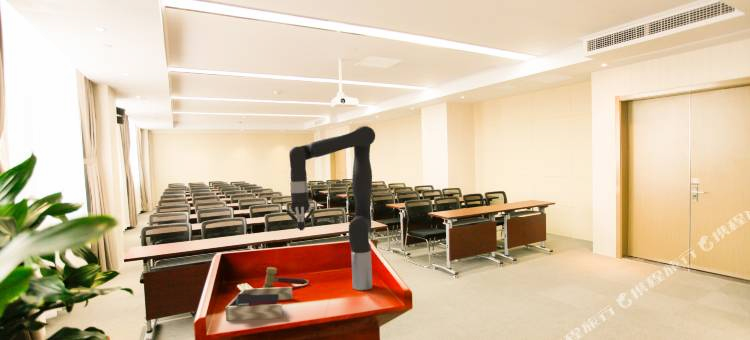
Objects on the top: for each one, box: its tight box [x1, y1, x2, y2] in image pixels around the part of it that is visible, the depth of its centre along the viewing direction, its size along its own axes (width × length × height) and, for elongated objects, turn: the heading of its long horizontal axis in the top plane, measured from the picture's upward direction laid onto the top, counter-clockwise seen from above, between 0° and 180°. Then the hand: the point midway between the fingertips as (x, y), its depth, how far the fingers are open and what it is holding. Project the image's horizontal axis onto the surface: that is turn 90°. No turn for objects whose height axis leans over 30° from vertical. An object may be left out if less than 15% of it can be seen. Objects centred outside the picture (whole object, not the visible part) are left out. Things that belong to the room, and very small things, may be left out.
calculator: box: [235, 293, 279, 306], centre depth 148 cm, size 11×4×15 cm
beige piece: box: [224, 286, 293, 321], centre depth 152 cm, size 21×20×5 cm
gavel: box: [262, 266, 310, 288], centre depth 176 cm, size 21×5×10 cm, turn 114°
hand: (301, 229), depth 168 cm, fingers closed
